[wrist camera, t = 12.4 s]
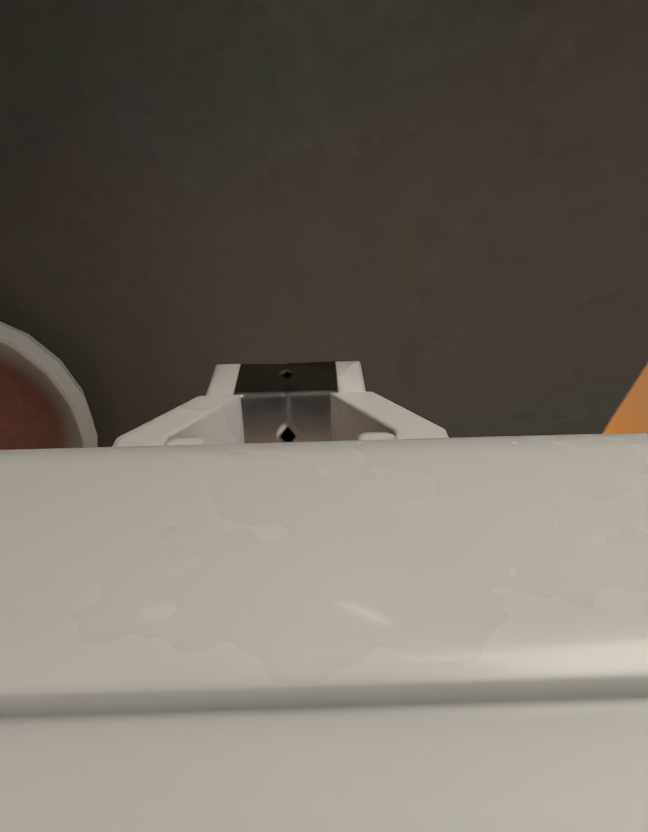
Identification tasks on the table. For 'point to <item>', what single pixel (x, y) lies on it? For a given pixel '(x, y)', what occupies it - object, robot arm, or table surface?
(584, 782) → the robot arm
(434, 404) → the table surface
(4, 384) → the frying pan
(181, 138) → the table surface
